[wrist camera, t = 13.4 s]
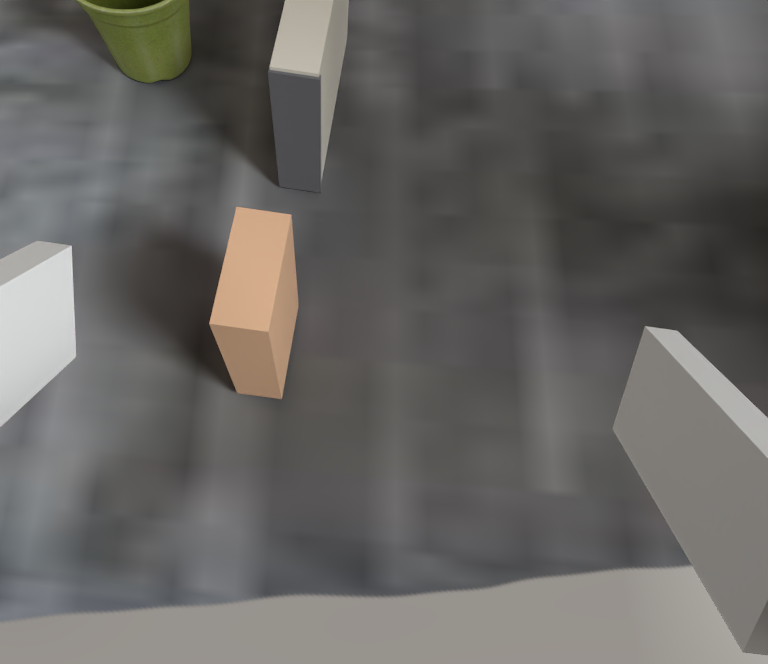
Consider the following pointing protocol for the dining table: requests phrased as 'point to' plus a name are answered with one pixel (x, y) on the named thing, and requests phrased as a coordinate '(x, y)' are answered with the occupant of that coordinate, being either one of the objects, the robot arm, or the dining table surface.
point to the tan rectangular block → (257, 302)
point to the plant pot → (144, 35)
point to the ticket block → (306, 87)
